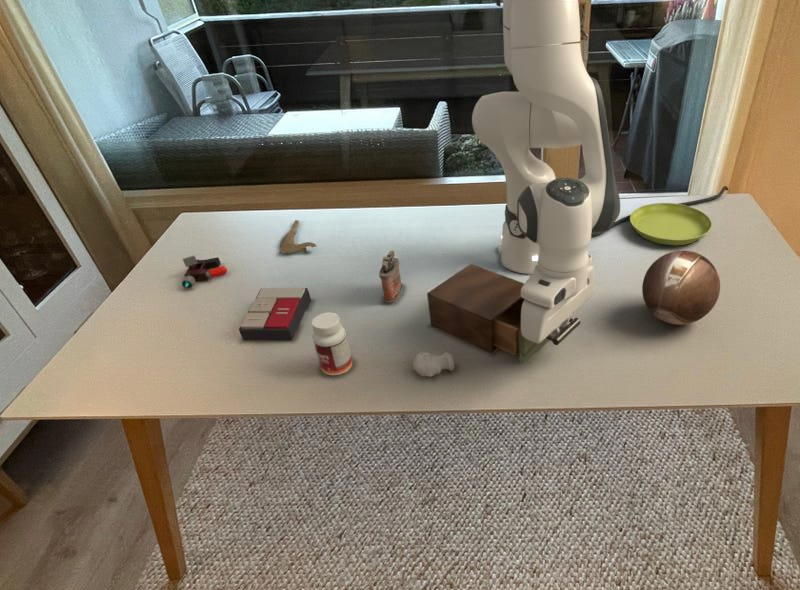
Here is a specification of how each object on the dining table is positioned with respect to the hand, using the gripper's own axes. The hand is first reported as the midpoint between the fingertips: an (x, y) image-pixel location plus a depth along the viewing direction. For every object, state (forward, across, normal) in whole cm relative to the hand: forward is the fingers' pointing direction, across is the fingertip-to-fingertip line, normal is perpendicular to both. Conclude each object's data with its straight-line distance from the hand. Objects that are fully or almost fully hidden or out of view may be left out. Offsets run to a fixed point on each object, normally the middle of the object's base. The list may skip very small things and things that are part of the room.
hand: (558, 336), depth 109 cm
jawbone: (+5, -3, -83) cm, 83 cm away
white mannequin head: (+5, +18, -16) cm, 25 cm away
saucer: (+5, -61, -4) cm, 62 cm away
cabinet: (+5, 0, -19) cm, 20 cm away
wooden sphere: (+5, -25, +13) cm, 29 cm away
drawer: (+4, 0, -8) cm, 9 cm away
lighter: (+5, +3, -43) cm, 43 cm away
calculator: (+5, +25, -56) cm, 62 cm away
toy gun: (+5, +24, -86) cm, 90 cm away
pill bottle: (+5, +28, -33) cm, 44 cm away
